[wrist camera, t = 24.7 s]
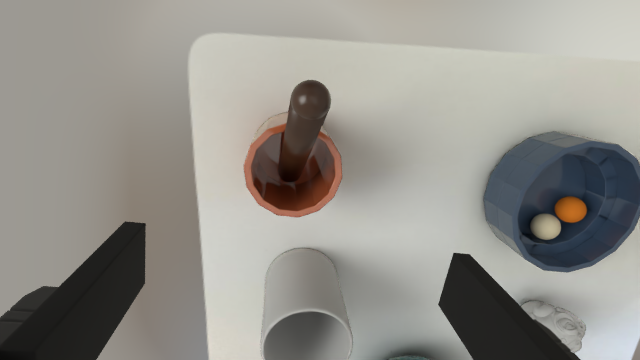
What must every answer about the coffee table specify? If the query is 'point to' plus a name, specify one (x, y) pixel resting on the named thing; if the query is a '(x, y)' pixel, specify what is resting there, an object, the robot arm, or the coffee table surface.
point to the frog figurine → (558, 322)
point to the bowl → (558, 182)
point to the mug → (304, 309)
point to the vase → (409, 358)
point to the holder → (299, 195)
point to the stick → (302, 127)
